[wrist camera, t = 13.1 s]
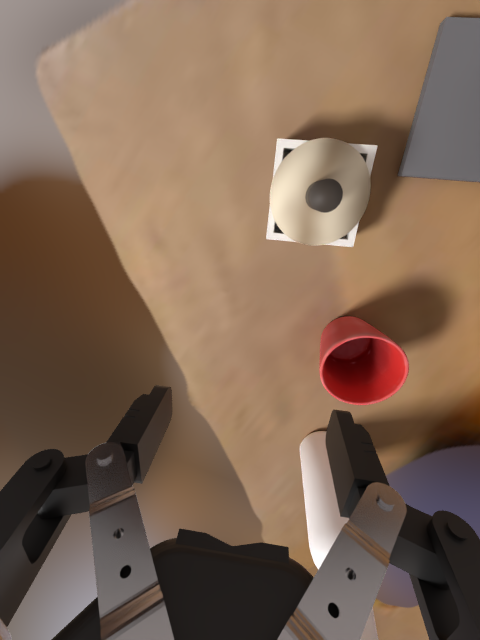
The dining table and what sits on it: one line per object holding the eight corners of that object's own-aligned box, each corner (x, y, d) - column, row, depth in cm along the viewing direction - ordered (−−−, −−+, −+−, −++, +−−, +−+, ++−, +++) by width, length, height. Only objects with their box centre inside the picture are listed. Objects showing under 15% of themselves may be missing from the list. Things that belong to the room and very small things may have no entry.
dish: (363, 151, 34) (377, 145, 29) (343, 240, 38) (352, 247, 34) (276, 145, 35) (277, 138, 30) (267, 233, 39) (266, 238, 35)
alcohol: (290, 448, 56) (306, 692, 28) (317, 421, 52) (364, 670, 25) (326, 467, 57) (375, 719, 29) (355, 442, 53) (440, 703, 26)
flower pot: (344, 292, 41) (363, 318, 32) (397, 333, 43) (428, 369, 34) (297, 340, 45) (302, 376, 37) (347, 376, 47) (363, 418, 38)
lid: (380, 142, 29) (403, 130, 24) (355, 248, 34) (370, 258, 29) (275, 136, 30) (276, 124, 25) (265, 240, 35) (263, 248, 29)
